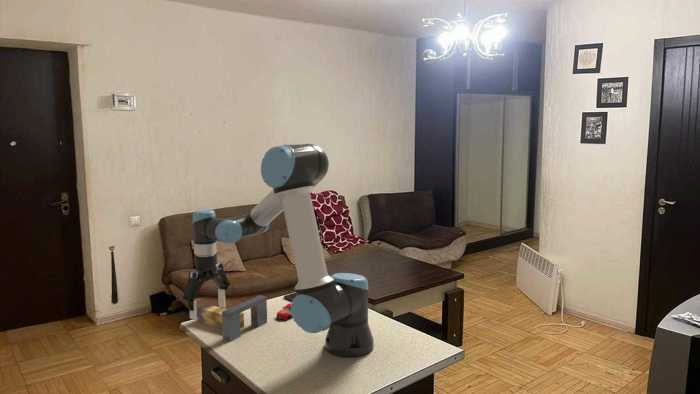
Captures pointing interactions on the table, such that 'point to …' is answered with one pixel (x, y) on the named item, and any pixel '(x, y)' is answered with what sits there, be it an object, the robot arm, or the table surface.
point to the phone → (290, 297)
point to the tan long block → (213, 315)
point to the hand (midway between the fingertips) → (208, 312)
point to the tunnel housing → (233, 316)
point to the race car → (285, 313)
